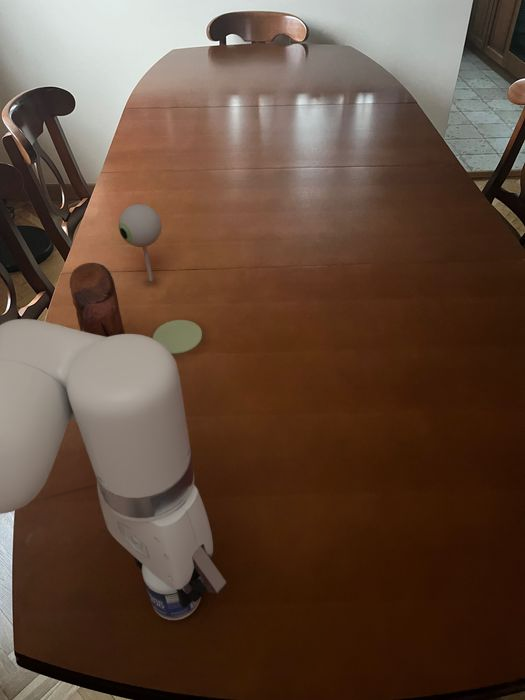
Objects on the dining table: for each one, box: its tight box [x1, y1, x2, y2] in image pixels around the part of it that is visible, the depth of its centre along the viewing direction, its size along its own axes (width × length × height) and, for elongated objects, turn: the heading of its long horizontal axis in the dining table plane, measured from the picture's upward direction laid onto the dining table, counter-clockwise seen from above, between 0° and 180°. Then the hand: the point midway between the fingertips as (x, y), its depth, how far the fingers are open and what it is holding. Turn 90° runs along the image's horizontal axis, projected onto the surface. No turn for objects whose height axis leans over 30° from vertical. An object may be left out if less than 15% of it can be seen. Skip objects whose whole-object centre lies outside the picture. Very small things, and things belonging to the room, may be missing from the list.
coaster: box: [152, 319, 203, 355], centre depth 96 cm, size 8×8×1 cm
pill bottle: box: [141, 564, 202, 621], centre depth 60 cm, size 5×5×10 cm
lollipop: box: [118, 203, 163, 282], centre depth 102 cm, size 7×7×15 cm
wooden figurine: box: [69, 262, 126, 337], centre depth 85 cm, size 12×6×18 cm, turn 16°
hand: (171, 574), depth 60 cm, fingers closed on pill bottle, 5 cm apart
